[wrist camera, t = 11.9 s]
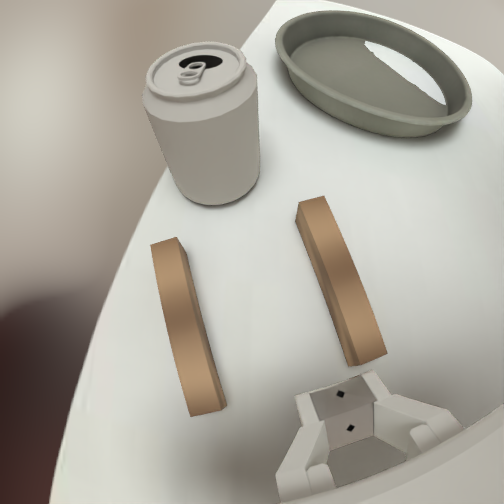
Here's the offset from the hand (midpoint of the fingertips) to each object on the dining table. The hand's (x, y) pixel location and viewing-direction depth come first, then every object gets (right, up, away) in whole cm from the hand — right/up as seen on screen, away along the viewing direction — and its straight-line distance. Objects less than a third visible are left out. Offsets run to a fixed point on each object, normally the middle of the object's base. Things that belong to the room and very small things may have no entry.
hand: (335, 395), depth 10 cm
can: (-6, +12, +17) cm, 22 cm away
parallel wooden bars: (-2, +1, +12) cm, 13 cm away
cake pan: (+12, +27, +23) cm, 37 cm away
